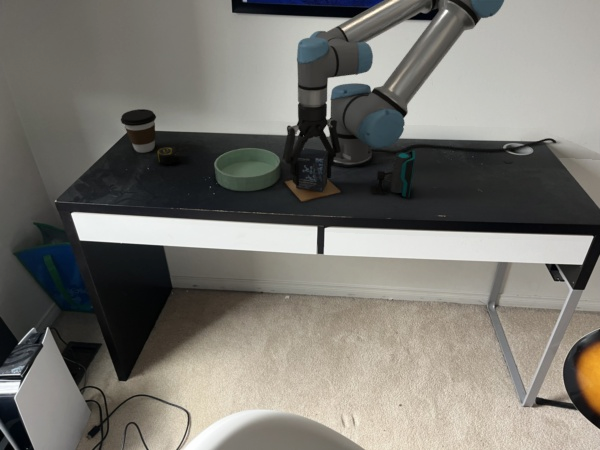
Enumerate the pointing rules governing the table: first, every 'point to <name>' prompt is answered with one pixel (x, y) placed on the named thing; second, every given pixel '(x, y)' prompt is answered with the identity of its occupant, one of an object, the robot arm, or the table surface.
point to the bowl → (247, 169)
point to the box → (313, 169)
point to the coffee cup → (140, 129)
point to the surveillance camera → (398, 175)
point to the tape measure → (168, 155)
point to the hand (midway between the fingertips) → (311, 179)
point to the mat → (308, 194)
